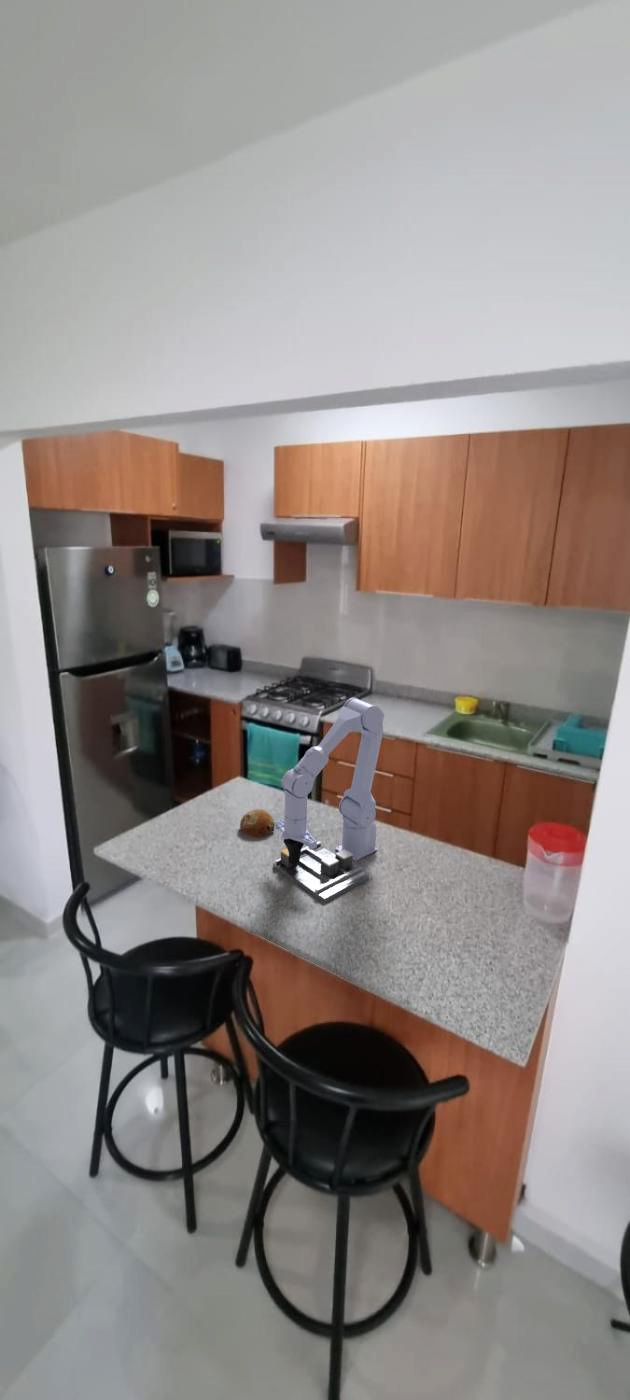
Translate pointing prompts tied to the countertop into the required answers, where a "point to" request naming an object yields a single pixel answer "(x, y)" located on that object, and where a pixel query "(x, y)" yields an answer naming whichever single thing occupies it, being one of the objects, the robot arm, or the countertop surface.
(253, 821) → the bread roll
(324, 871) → the block
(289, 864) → the block
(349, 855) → the block
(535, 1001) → the countertop surface
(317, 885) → the panel
